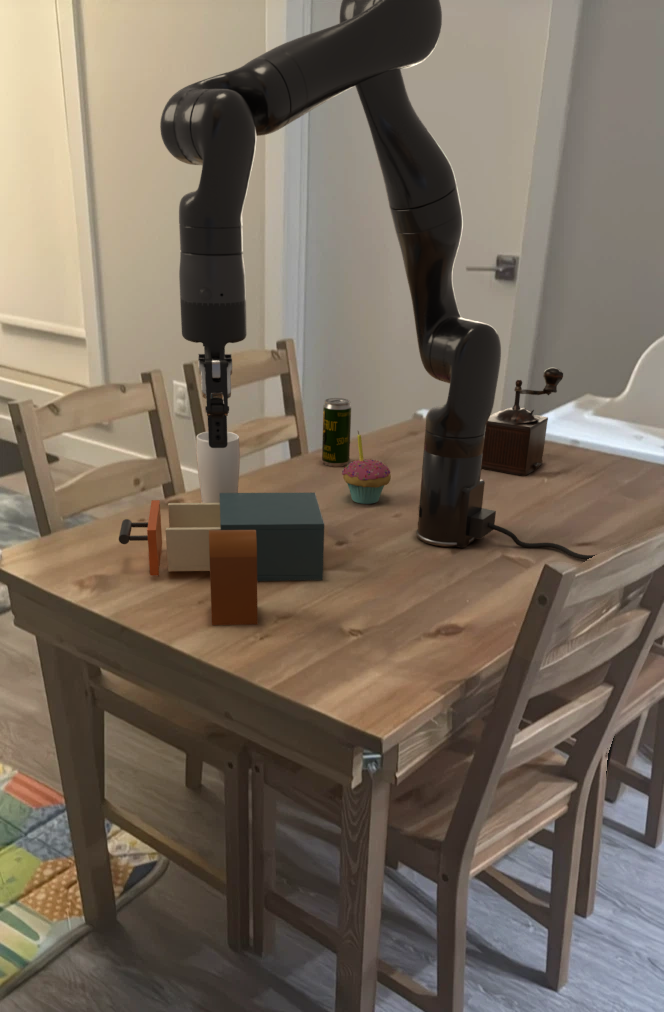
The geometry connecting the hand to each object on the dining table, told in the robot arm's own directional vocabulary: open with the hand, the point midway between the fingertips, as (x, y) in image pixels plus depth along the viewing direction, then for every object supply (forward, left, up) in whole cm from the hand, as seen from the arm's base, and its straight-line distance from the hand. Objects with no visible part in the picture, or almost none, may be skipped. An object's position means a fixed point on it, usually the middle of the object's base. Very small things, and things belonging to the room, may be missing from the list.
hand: (217, 437), depth 121 cm
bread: (-2, 0, -24) cm, 24 cm away
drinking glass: (+20, -26, -24) cm, 40 cm away
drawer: (+15, -11, -23) cm, 29 cm away
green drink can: (+24, -69, -24) cm, 77 cm away
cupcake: (+8, -53, -24) cm, 58 cm away
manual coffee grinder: (-5, -91, -24) cm, 94 cm away
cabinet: (+5, -18, -24) cm, 30 cm away
